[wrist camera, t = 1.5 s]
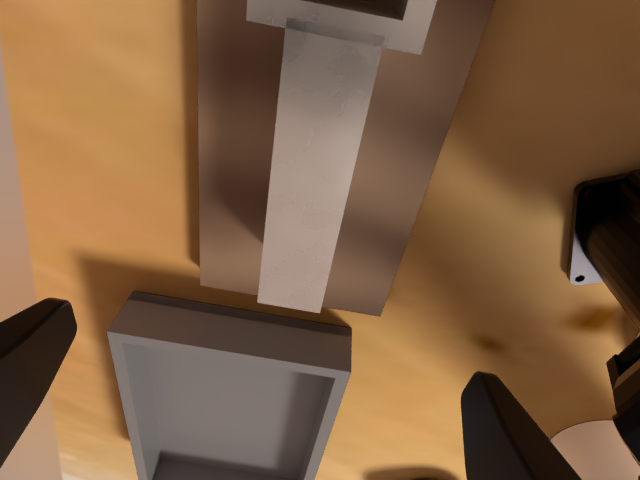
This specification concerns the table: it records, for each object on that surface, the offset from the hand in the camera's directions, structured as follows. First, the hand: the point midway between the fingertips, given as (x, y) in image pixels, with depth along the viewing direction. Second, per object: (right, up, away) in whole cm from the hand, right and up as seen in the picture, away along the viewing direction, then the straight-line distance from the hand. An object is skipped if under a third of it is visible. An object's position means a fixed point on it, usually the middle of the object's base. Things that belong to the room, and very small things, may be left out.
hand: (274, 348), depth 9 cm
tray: (-6, -11, +24) cm, 27 cm away
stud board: (+1, +9, +9) cm, 13 cm away
